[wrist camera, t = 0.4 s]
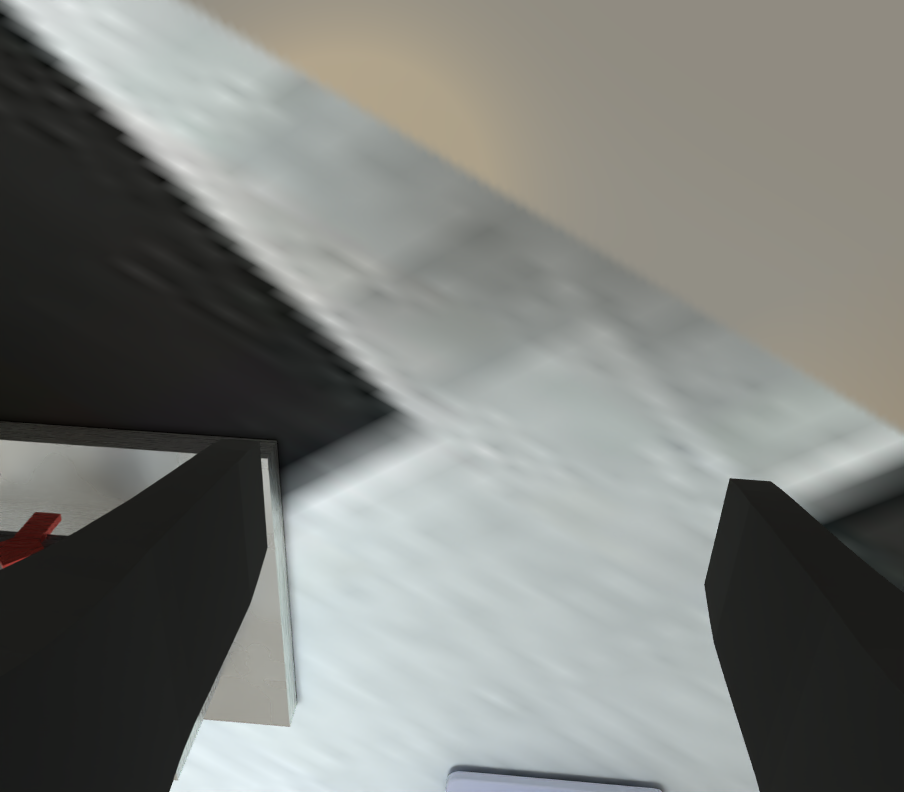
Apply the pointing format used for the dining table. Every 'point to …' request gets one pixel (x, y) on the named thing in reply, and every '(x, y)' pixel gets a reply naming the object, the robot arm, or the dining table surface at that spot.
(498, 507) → the dining table surface
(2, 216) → the dining table surface
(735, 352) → the dining table surface
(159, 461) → the stand
